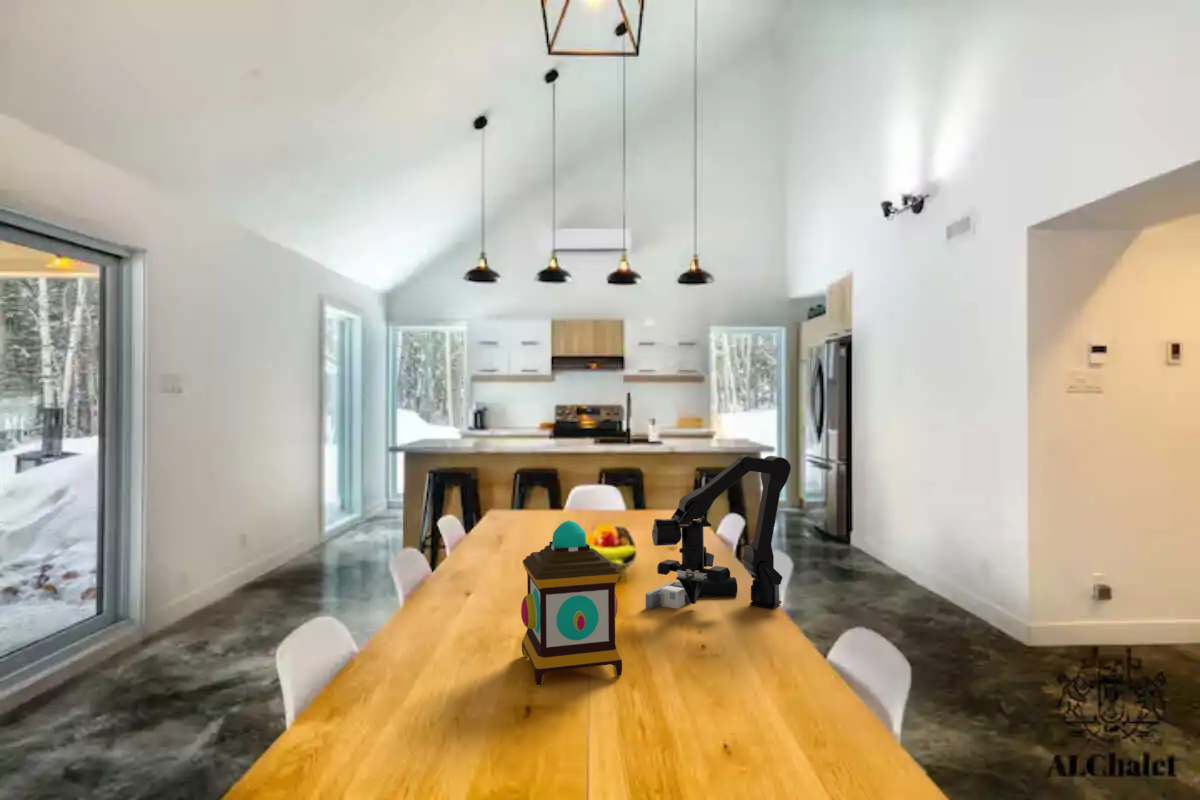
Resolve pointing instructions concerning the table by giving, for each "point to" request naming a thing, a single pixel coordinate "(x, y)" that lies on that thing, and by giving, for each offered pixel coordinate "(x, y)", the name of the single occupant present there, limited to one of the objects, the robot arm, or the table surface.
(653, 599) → the rail
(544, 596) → the decorative lantern
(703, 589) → the pipe connector
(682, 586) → the block
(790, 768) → the table surface
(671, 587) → the block
